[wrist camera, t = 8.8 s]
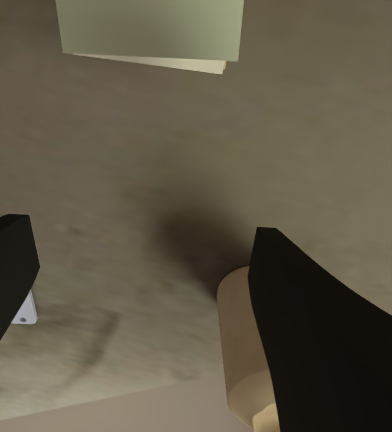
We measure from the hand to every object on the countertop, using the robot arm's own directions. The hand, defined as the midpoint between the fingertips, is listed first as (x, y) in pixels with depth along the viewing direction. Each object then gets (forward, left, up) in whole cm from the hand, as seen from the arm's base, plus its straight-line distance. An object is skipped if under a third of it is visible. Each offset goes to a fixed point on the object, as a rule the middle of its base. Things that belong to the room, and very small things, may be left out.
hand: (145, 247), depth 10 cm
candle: (+7, -11, -11) cm, 17 cm away
